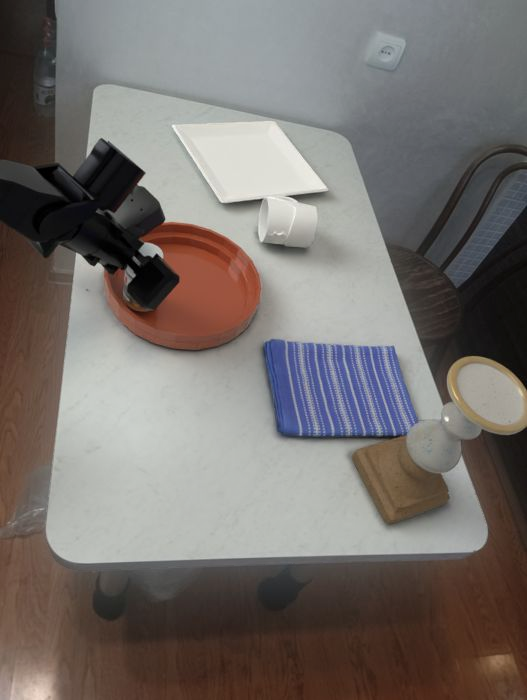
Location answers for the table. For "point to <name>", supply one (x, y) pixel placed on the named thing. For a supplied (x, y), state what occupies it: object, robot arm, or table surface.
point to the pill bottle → (129, 275)
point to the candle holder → (441, 439)
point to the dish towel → (338, 390)
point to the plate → (248, 160)
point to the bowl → (193, 290)
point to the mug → (287, 222)
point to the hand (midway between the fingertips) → (152, 267)
